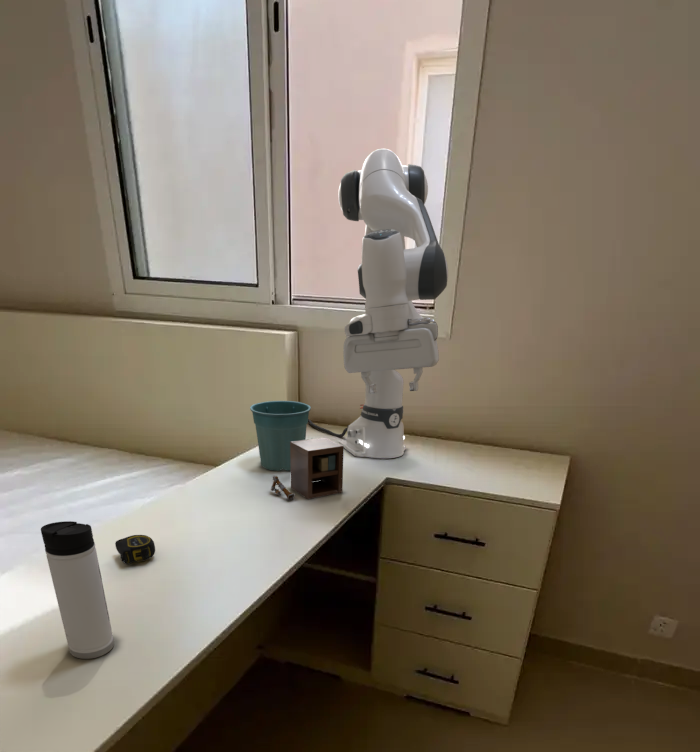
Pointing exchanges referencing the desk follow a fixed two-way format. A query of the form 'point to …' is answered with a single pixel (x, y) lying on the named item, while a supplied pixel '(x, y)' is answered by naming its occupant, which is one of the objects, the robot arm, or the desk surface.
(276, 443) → the flower pot
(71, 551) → the travel mug
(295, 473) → the shelf
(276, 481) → the hinged wooden rods
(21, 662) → the desk surface
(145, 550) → the tape measure
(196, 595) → the desk surface
